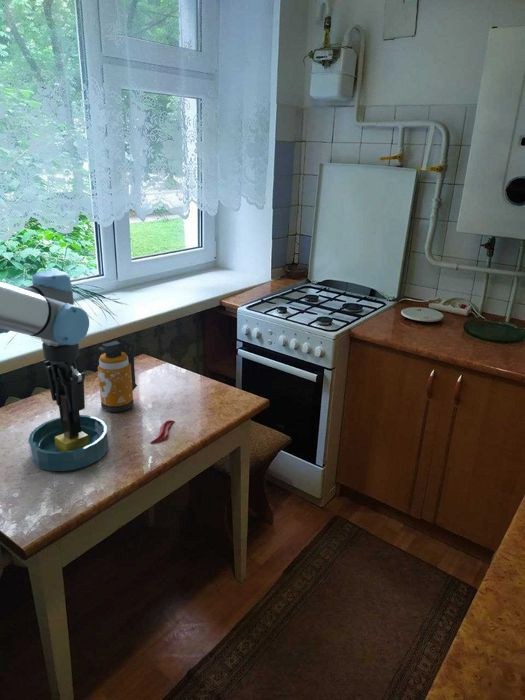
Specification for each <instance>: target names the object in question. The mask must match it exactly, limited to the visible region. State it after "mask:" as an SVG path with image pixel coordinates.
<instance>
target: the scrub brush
mask: <svg viewBox="0 0 525 700" xmlns="http://www.w3.org/2000/svg"><path fill="white" fill-rule="evenodd" d="M60 397H61V407H62V417H63V427H64V433H63V434H61V435H58V436H56V437H55V446H56V450H58V451H59V452H63V451H71V450H76V449H79V448H83V447H85V446H87V445H89V437H88V434H86V433H84V432H82V431H81V432H80V433H77V434H75V435H73V436H70V434H69V426H68V419H67V413H66V410H68V405H67V400H66V395H65V394H62V395H60Z"/></svg>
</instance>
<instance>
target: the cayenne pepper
mask: <svg viewBox="0 0 525 700" xmlns="http://www.w3.org/2000/svg"><path fill="white" fill-rule="evenodd" d="M174 423H176V422H175V421H174V420H170V419H169V420H166V421H165V422H163V423H162V424H161V425H160V428H159V434H158V436H157V437H156V438H155V439H154V440H152V441H151V442H150V444H157V443H161V442H163V441H165V440H167V439H168V438H169V431H170V429H171V427H172V425H173V424H174Z"/></svg>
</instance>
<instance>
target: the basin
mask: <svg viewBox="0 0 525 700" xmlns="http://www.w3.org/2000/svg"><path fill="white" fill-rule="evenodd" d="M80 424H81V431H82V432H84V433H86V434H88V437H89V445H87V446H85V447H83V448H79V449H76V450H71V451H63V452H59V451H58V450H56V446H55V437H56V436H58V435H61V434H63V433H64V431H62V425H61V418H60V417H56V418H51V419H50V420H47V421H45V422H43V423H41V424H39V425H38V426H37V427H35V428H34V429H33V431H32V432H31V433H30V434H29V437H28V441H27V442H28V447H29V453H30V459H31V461H32V463H33V464H34V465H35V466H36V467H38V468H39V469H43V470H47V471H52V472H53V471H54V472H66V471H73V470H74V471H75V470H79V469H82V468H84V467H87V466H90V465H92V464H93V463H96V462H98V461H99V460H100V459H101V458H103V457H104V456H105V455H106V453H107V452H108V450H109V433H108V425H107V424H106V423H105V421H104V420H103V419H101V418H98V417H96V416H93V415H89V414H88V415H87V414H80Z"/></svg>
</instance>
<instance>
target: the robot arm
mask: <svg viewBox="0 0 525 700" xmlns="http://www.w3.org/2000/svg"><path fill="white" fill-rule="evenodd" d="M31 283H32V285H29V286H26V287H22V288H20V287H17V286H15V285H11V284H9V283H5V282H3V281H0V334H8V333H9V332H13V333H14V332H15V333H19V334H22V335H26V336H27V335H28V336H30V337H35V338H39V339H40V340H41V342H42V344H41V346H42V354H43V357H44V359H45V361H43V367H44V369H45V371H46V377H47V381H48V385H49V391H50V396H51V399H52V401H53V402H55V403H56V405H57V406H58V409H59V411H58V412H59V418H61V425H62V431H64V427H63V417H62V407H61V397H60V395H62V394H65V395H66V400H67V405H68V410H66V413H67V419H68V426H69V434H70V436H73V435H75V434H77V433H80V432H81V424H80V415H81V414H80V411H83V410H85V409H86V404H85V403H86V402H85V400H86V399H85V380H86V379H85V378H86V374H85V373H84V372H79V371H78V365H77V363H76V359H77V358H78V357H79V356H80V348H79V347H80V346H79V343H81V342H82V341H83V340H84V339H85V338H86V336H87V335H88V331H89V329H90V319H89V314H87V312H86V310H85V309H83V308H82V307H80V306H77V305H75V303H74V301H75V300H74V290H73V285H72V281H71V277H70V275H69V273H67V272H65V271H62V270H55V269H54V270H52V269H51V270H50V269H49V270H43V271H42V270H41V271H38V272H36V273H34V274H32V281H31Z"/></svg>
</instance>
